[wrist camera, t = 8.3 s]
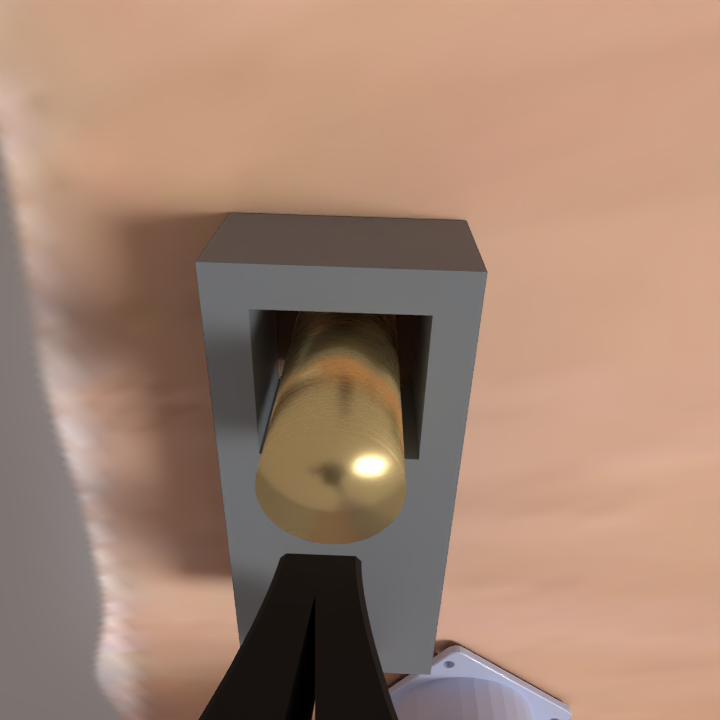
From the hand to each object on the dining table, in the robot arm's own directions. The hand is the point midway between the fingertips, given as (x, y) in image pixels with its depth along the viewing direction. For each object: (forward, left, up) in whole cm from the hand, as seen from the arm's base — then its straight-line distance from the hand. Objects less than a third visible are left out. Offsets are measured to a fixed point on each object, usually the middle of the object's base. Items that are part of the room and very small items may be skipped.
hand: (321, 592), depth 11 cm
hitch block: (-3, -3, -10) cm, 11 cm away
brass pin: (0, 0, -10) cm, 10 cm away
